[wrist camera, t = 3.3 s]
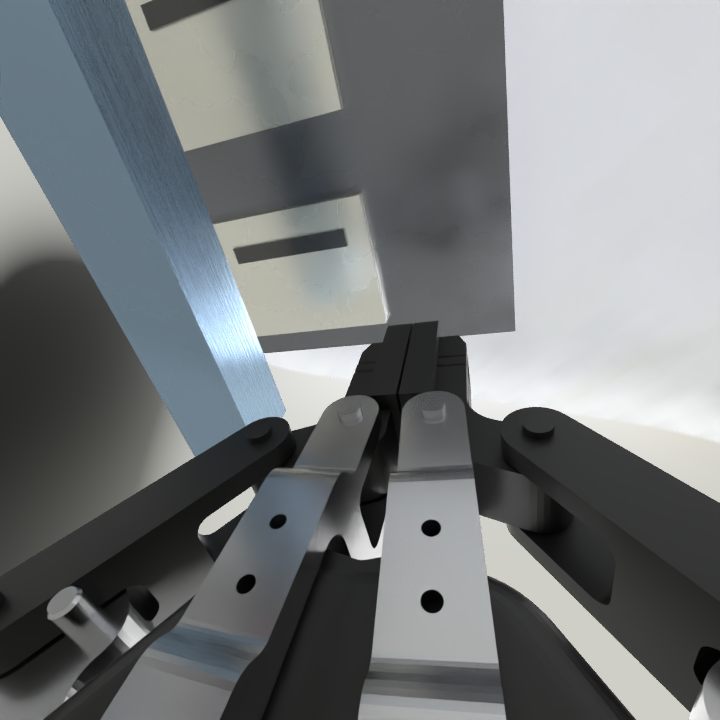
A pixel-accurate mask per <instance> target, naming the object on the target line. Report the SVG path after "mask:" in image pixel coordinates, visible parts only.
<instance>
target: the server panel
mask: <svg viewBox="0 0 720 720" xmlns="http://www.w3.org/2000/svg"><path fill="white" fill-rule="evenodd" d="M125 2H126V5H127V7H128V10H129V12H130V15H131V17H132V20H133V22H134V25H135V27H136V30H137V33H138V35H139V38H140V40H141V43H142V45H143V48H144V50H145V53H146V55H147V58H148V61H149V63H150V66H151V68H152V71H153V73H154V76H155V78H156V81H157V84H158V86H159V89H160V91H161V94H162V96H163V99H164V101H165V104H166V106H167V109H168V112H169V114H170V117H171V119H172V122H173V124H174V127H175V129H176V132H177V134H178V137H179V140H180V142H181V145H182V147H183V150H184V152H185V155H186V157H187V160H188V162H189V165H190V168H191V170H192V173H193V175H194V178H195V180H196V183H197V185H198V188H199V191H200V193H201V196H202V198H203V201H204V203H205V206H206V208H207V211H208V213H209V216H210V219H211V221H212V224H213V226H214V229H215V231H216V234H217V236H218V239H219V241H220V244H221V247H222V249H223V252H224V254H225V257H226V259H227V262H228V264H229V267H230V269H231V272H232V275H233V277H234V280H235V282H236V285H237V287H238V290H239V292H240V295H241V298H242V300H243V303H244V305H245V308H246V310H247V313H248V315H249V318H250V320H251V323H252V326H253V328H254V331H255V333H256V336H257V338H258V341H259V343H260V346H261V348H262V351H263V353H272V352H283V351H294V350H306V349H317V348H328V347H340V346H351V345H363V344H372V343H380V342H383V339H384V336H385V333H386V330H387V327H388V326H391V325H400V324H410V323H413V324H414V323H419V322H429V321H438V320H439V321H440V325H441V332H442V337H445V336H456V335H459V336H465V335H476V334H487V333H499V332H510V331H515V312H514V285H513V257H512V230H511V203H510V175H509V148H508V121H507V94H506V66H505V39H504V12H503V0H125Z"/></svg>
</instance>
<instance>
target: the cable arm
mask: <svg viewBox="0 0 720 720" xmlns="http://www.w3.org/2000/svg"><path fill="white" fill-rule="evenodd" d="M0 117H1V118H2V120H3V122H4V124H5V125H6V127H7V129H8V130H9V132H10V134H11V136H12V138H13V139H14V141H15V143H16V145H17V146H18V148H19V150H20V152H21V153H22V155H23V157H24V158H25V160H26V162H27V164H28V165H29V167H30V169H31V171H32V172H33V174H34V176H35V178H36V179H37V181H38V183H39V184H40V186H41V188H42V190H43V192H44V193H45V195H46V197H47V199H48V200H49V202H50V204H51V206H52V207H53V209H54V211H55V212H56V214H57V216H58V218H59V220H60V221H61V223H62V225H63V227H64V228H65V230H66V232H67V234H68V235H69V237H70V239H71V241H72V242H73V244H74V246H75V248H76V249H77V251H78V253H79V255H80V256H81V258H82V260H83V262H84V263H85V265H86V267H87V268H88V270H89V272H90V274H91V275H92V277H93V279H94V281H95V283H96V284H97V286H98V288H99V289H100V291H101V293H102V295H103V297H104V298H105V300H106V301H107V303H108V305H109V307H110V309H111V310H112V312H113V314H114V316H115V318H116V319H117V321H118V323H119V325H120V326H121V328H122V330H123V331H124V333H125V335H126V337H127V339H128V340H129V342H130V344H131V345H132V347H133V349H134V351H135V352H136V354H137V356H138V358H139V360H140V361H141V363H142V365H143V367H144V368H145V370H146V372H147V373H148V375H149V377H150V379H151V380H152V382H153V384H154V386H155V388H156V389H157V391H158V393H159V394H160V396H161V398H162V400H163V401H164V403H165V405H166V407H167V408H168V410H169V412H170V413H171V415H172V417H173V419H174V421H175V422H176V424H177V426H178V428H179V429H180V431H181V433H182V435H183V436H184V438H185V440H186V442H187V443H188V445H189V447H190V449H191V450H192V452H193V454H194V456H195V457H196V456H198V455H199V454H201V453H203V452H204V451H206V450H208V449H209V448H211V447H212V446H214V445H216V444H217V443H219V442H221V441H222V440H224V439H225V438H227V437H229V436H230V435H232V434H234V433H235V432H237V431H239V430H240V429H242V428H243V427H245V426H247V425H248V424H250V423H252V422H254V421H256V420H259V419H262V418H266V417H280V418H282V417H283V415H284V413H285V411H286V410H285V407H284V405H283V402H282V399H281V397H280V395H279V392H278V389H277V387H276V384H275V382H274V379H273V376H272V374H271V371H270V369H269V366H268V364H267V361H266V359H265V356H264V354H263V351H262V348H261V346H260V343H259V341H258V338H257V336H256V333H255V331H254V328H253V326H252V323H251V320H250V318H249V315H248V313H247V310H246V308H245V305H244V303H243V300H242V298H241V295H240V292H239V290H238V287H237V285H236V282H235V280H234V277H233V275H232V272H231V269H230V267H229V264H228V262H227V259H226V257H225V254H224V252H223V249H222V247H221V244H220V241H219V239H218V236H217V234H216V231H215V229H214V226H213V224H212V221H211V219H210V216H209V213H208V211H207V208H206V206H205V203H204V201H203V198H202V196H201V193H200V191H199V188H198V185H197V183H196V180H195V178H194V175H193V173H192V170H191V168H190V165H189V162H188V160H187V157H186V155H185V152H184V150H183V147H182V145H181V142H180V140H179V137H178V134H177V132H176V129H175V127H174V124H173V122H172V119H171V117H170V114H169V112H168V109H167V106H166V104H165V101H164V99H163V96H162V94H161V91H160V89H159V86H158V84H157V81H156V78H155V76H154V73H153V71H152V68H151V66H150V63H149V61H148V58H147V55H146V53H145V50H144V48H143V45H142V43H141V40H140V38H139V35H138V33H137V30H136V27H135V25H134V22H133V20H132V17H131V15H130V12H129V10H128V7H127V5H126V2H125V0H0Z"/></svg>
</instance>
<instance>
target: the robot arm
mask: <svg viewBox="0 0 720 720" xmlns="http://www.w3.org/2000/svg"><path fill="white" fill-rule="evenodd" d="M251 486H252V488H253V490H254V492H255V494H256V495H255V497H254V499H253V501H252V502H251V504H250V505H249V507H248V509H246V510H245V511H243V512H242V513H241V514H239V515H238V516H236V517H235V518H234V519H232V520H231V521H230V522H228V523H227V524H225V525H224V526H223V527H221V528H220V529H218V530H217V531H216V532H214V533H212V534H210V535H201V534H199V533H198V529H199V526H200V524H201V523H202V522H203V520H204V519H205V518H206V517H208V516H209V515H210V514H212V513H213V512H215V511H216V510H218V509H219V508H221V507H222V506H223V505H225V504H226V503H228V502H229V501H231V500H232V499H233V498H235V497H236V496H238V495H239V494H241V493H242V492H244V491H245V490H247V489H248V488H249V487H251ZM479 515H482V516H485V517H488V518H491V519H494V520H497V521H500V522H503V523H506V524H507V527H508V530H509V532H510V533H511V535H512V536H513V537H514V538H515V539H516V540H517V541H518V542H519V543H520V544H521V545H522V546H523V547H524V548H525V549H526V550H527V551H528V552H529V553H530V554H531V555H532V556H533V557H534V558H535V559H536V560H537V561H538V562H539V563H540V564H541V565H542V566H543V567H544V568H545V569H546V570H547V571H548V572H549V573H550V574H551V575H552V576H553V577H554V578H555V579H556V580H557V581H558V582H559V583H560V584H561V585H562V586H563V587H564V588H565V589H566V590H567V591H568V592H569V593H570V594H571V595H572V596H573V597H574V598H575V599H576V600H577V601H578V602H579V603H580V604H581V605H582V606H583V607H584V608H585V609H586V610H587V611H588V612H589V613H591V615H592V616H593V617H595V618H596V620H597V621H598V622H599V623H600V624H602V626H604V627H605V628H606V629H607V630H608V631H609V632H610V633H611V634H612V635H613V636H614V637H615V638H616V639H617V640H618V641H619V642H620V643H621V644H622V645H623V646H624V647H625V648H626V649H627V650H628V651H629V652H630V653H631V654H632V655H633V656H634V657H635V658H636V659H637V660H638V661H639V662H640V663H641V664H642V665H643V666H644V667H645V668H646V669H647V670H648V671H649V672H650V673H651V674H652V675H653V676H654V677H655V678H656V679H657V680H658V681H659V682H660V683H661V684H662V685H663V686H664V687H665V688H666V689H667V690H668V691H669V692H670V693H671V694H672V695H673V696H674V697H675V698H676V699H677V700H678V701H679V702H680V703H681V704H682V705H683V706H684V707H685V708H686V709H687V710H688V711H689V712H690V715H689V720H720V503H719V502H717V501H715V500H713V499H711V498H710V497H708V496H706V495H705V494H703V493H701V492H699V491H698V490H696V489H694V488H692V487H690V486H689V485H687V484H685V483H684V482H682V481H680V480H678V479H677V478H675V477H673V476H671V475H670V474H668V473H666V472H664V471H663V470H661V469H659V468H658V467H656V466H654V465H652V464H651V463H649V462H647V461H645V460H644V459H642V458H640V457H638V456H637V455H635V454H633V453H631V452H630V451H628V450H626V449H624V448H623V447H621V446H619V445H617V444H616V443H614V442H612V441H610V440H608V439H607V438H605V437H603V436H602V435H600V434H598V433H596V432H595V431H593V430H591V429H590V428H588V427H586V426H584V425H583V424H581V423H579V422H577V421H576V420H574V419H572V418H570V417H569V416H567V415H565V414H563V413H561V412H559V411H556V410H553V409H549V408H542V407H529V408H523V409H520V410H516V411H514V412H512V413H510V414H509V415H507V416H506V417H505V418H504V420H503V421H498V420H493V419H489V418H486V417H483V416H481V415H479V414H478V413H476V412H475V411H474V410H473V409H472V408H471V387H470V377H469V367H468V357H467V348H466V343H465V342H464V341H463V340H462V339H461V338H460V336H459V335H456V336H445V337H442V332H441V325H440V321H439V320H438V321H429V322H419V323H414V324H413V323H410V324H400V325H391V326H388V327H387V330H386V333H385V336H384V339H383V342H380V343H372V344H371V345H370V346H369V347H368V348H367V349H366V350H365V351H364V352H363V353H362V355H361V358H360V360H359V365H357V368H356V370H355V373H354V375H353V378H352V380H351V383H350V386H349V388H348V391H347V394H346V396H345V397H344V398H341V399H339V400H337V401H335V402H333V403H332V404H331V405H330V406H328V407H327V408H326V409H325V411H324V412H323V414H322V416H321V418H320V420H319V421H318V423H317V424H316V425H313V426H309V427H306V428H302V429H298V430H294V431H291V429H290V426H289V424H288V422H287V421H286V420H285V419H283V418H280V417H266V418H262V419H259V420H256V421H254V422H252V423H250V424H248V425H247V426H245V427H243V428H242V429H240V430H239V431H237V432H235V433H234V434H232V435H230V436H229V437H227V438H225V439H224V440H222V441H221V442H219V443H217V444H216V445H214V446H212V447H211V448H209V449H208V450H206V451H204V452H203V453H201V454H199V455H198V456H196V457H194V458H193V459H191V460H190V461H188V462H186V463H185V464H183V465H181V466H180V467H178V468H177V469H175V470H173V471H172V472H170V473H168V474H167V475H165V476H164V477H162V478H160V479H159V480H157V481H155V482H154V483H152V484H150V485H149V486H147V487H146V488H144V489H142V490H141V491H139V492H137V493H136V494H134V495H133V496H131V497H129V498H128V499H126V500H124V501H123V502H121V503H120V504H118V505H116V506H114V507H113V508H111V509H110V510H108V511H106V512H105V513H103V514H101V515H100V516H98V517H97V518H95V519H93V520H92V521H90V522H88V523H87V524H85V525H83V526H82V527H80V528H79V529H77V530H75V531H74V532H72V533H71V534H69V535H67V536H66V537H64V538H62V539H61V540H59V541H57V542H56V543H54V544H52V545H51V546H49V547H48V548H46V549H44V550H43V551H41V552H39V553H38V554H36V555H35V556H33V557H31V558H30V559H28V560H26V561H25V562H23V563H21V564H20V565H18V566H17V567H15V568H13V569H12V570H10V571H8V572H7V573H5V574H3V575H2V576H0V720H636V719H635V718H634V717H633V716H632V714H631V713H630V712H629V711H628V710H627V709H626V707H625V706H624V705H623V704H622V703H621V702H620V700H619V699H618V698H617V697H616V696H615V695H614V693H613V692H612V691H611V690H610V689H609V688H608V686H607V685H606V684H605V683H604V682H603V681H602V679H601V678H600V677H599V676H598V675H597V674H596V672H595V671H594V670H593V669H592V668H591V666H590V665H589V664H588V663H587V662H586V661H585V659H584V658H583V657H582V656H581V655H580V654H579V652H578V651H577V650H576V649H575V648H574V647H573V646H572V645H571V643H570V642H569V641H568V640H567V639H566V638H565V636H564V635H563V634H562V633H561V631H560V630H559V629H558V628H557V627H556V625H555V624H554V623H553V622H552V621H551V620H550V619H549V618H548V617H547V615H546V614H545V613H543V612H542V611H541V610H540V609H539V608H538V607H537V606H536V605H535V604H534V603H533V602H532V601H530V600H529V599H528V598H526V597H525V596H524V595H522V594H521V593H520V592H518V591H517V590H515V589H513V588H512V587H510V586H508V585H507V584H505V583H503V582H500V581H498V580H496V579H494V578H492V577H489V576H487V572H486V564H485V556H484V548H483V541H482V533H481V526H480V518H479Z"/></svg>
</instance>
